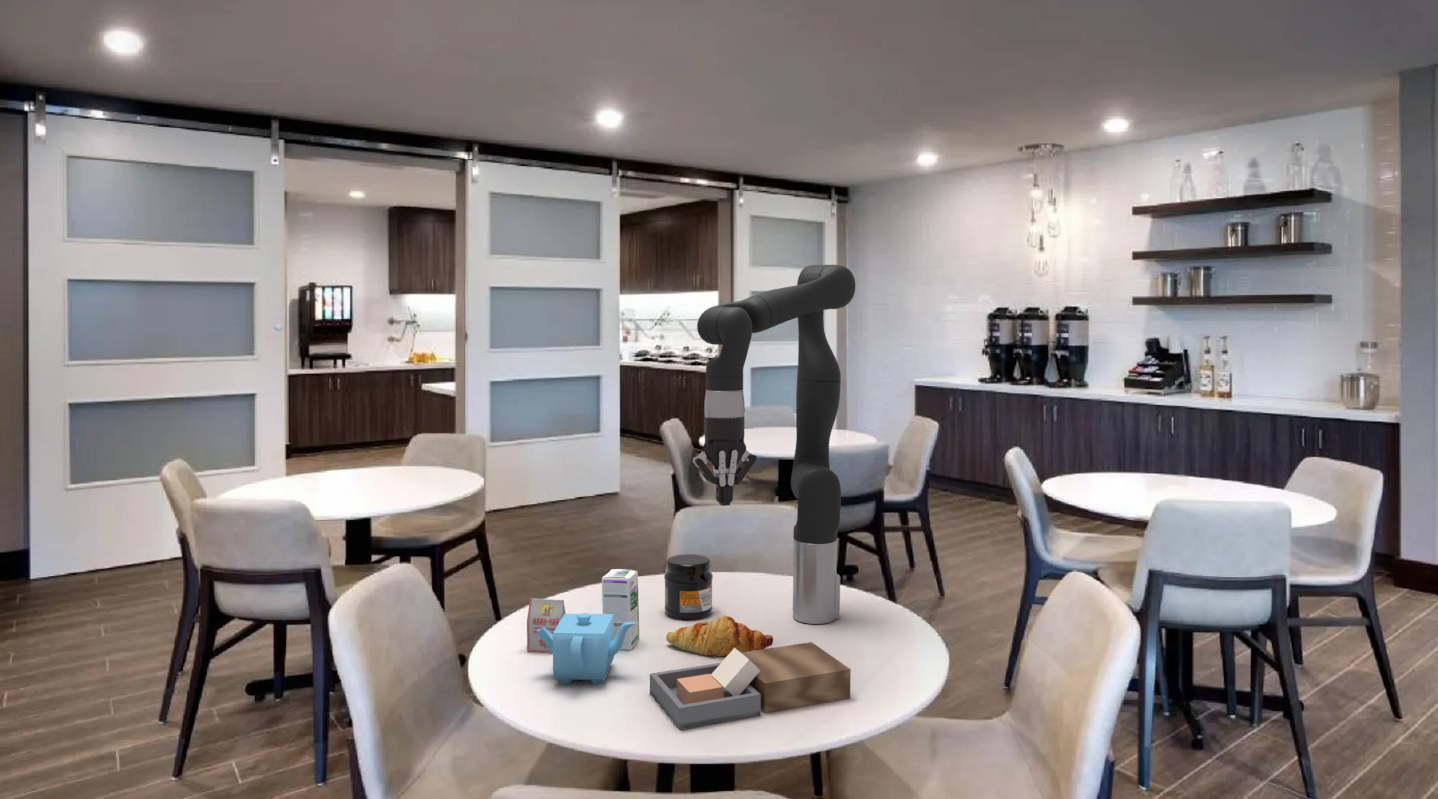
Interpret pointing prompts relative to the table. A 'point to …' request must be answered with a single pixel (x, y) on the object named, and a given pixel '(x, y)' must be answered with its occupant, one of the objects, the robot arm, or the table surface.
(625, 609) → the syrup box
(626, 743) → the table surface
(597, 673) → the teapot
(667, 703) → the box
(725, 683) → the cream tile
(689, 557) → the supplement container
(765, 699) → the wood grain slab
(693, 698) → the terracotta tile
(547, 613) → the tea bag
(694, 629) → the croissant
